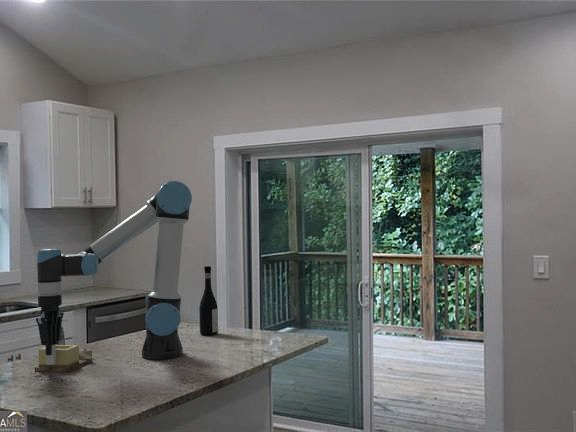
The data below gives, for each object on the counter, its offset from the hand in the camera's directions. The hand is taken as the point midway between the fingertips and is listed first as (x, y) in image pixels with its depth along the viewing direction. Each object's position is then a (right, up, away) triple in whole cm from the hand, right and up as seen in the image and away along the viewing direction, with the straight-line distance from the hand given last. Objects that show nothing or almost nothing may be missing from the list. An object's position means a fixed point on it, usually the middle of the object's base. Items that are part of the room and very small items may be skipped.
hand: (51, 364), depth 199 cm
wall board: (+1, -3, +8) cm, 9 cm away
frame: (+1, -2, +6) cm, 6 cm away
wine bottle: (+45, -2, +60) cm, 75 cm away
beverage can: (-7, -3, +23) cm, 25 cm away
